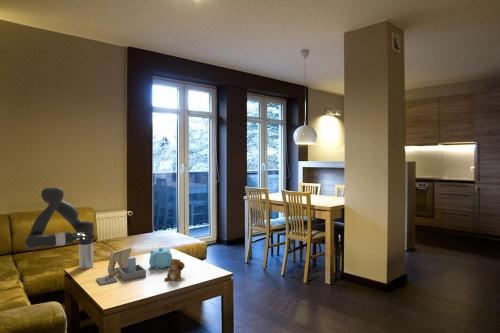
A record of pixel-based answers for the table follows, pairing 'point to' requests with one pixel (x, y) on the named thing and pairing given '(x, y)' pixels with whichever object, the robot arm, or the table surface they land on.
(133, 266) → the strut
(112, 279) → the stud plate
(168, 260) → the decorative pot
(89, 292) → the table surface
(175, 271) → the stuffed squirrel
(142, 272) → the bin
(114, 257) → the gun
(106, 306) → the table surface
